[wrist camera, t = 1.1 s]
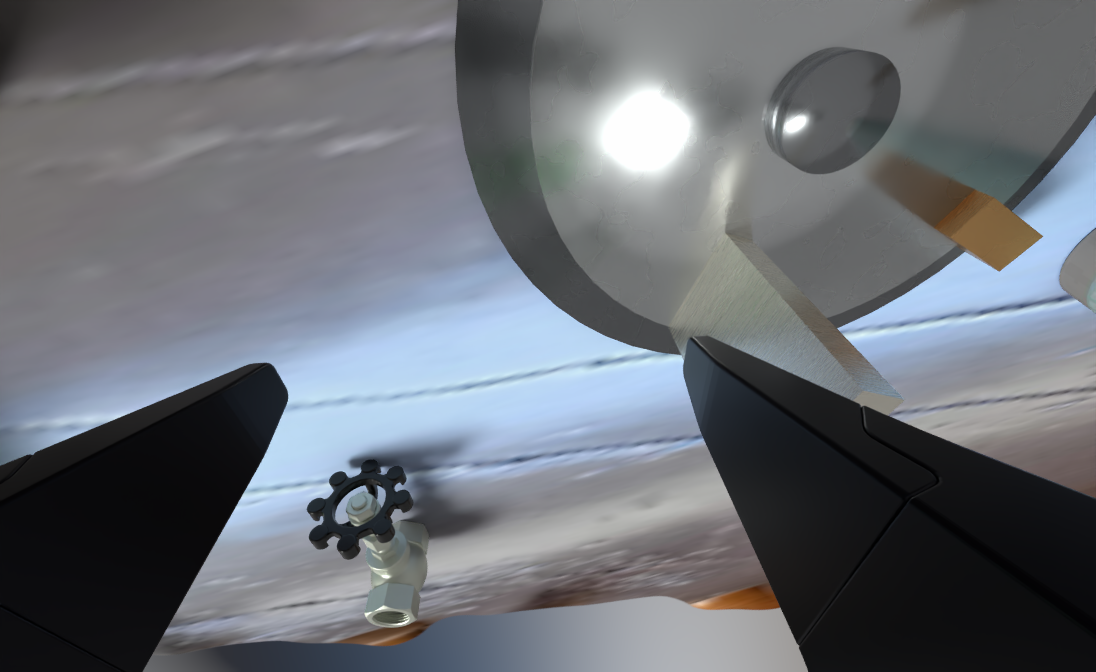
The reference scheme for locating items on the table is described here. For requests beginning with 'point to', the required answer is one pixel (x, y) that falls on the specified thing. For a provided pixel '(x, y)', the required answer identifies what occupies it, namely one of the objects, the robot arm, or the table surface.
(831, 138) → the grey stand
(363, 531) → the valve
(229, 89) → the table surface
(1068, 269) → the coffee cup
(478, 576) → the table surface
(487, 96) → the grey round disc
